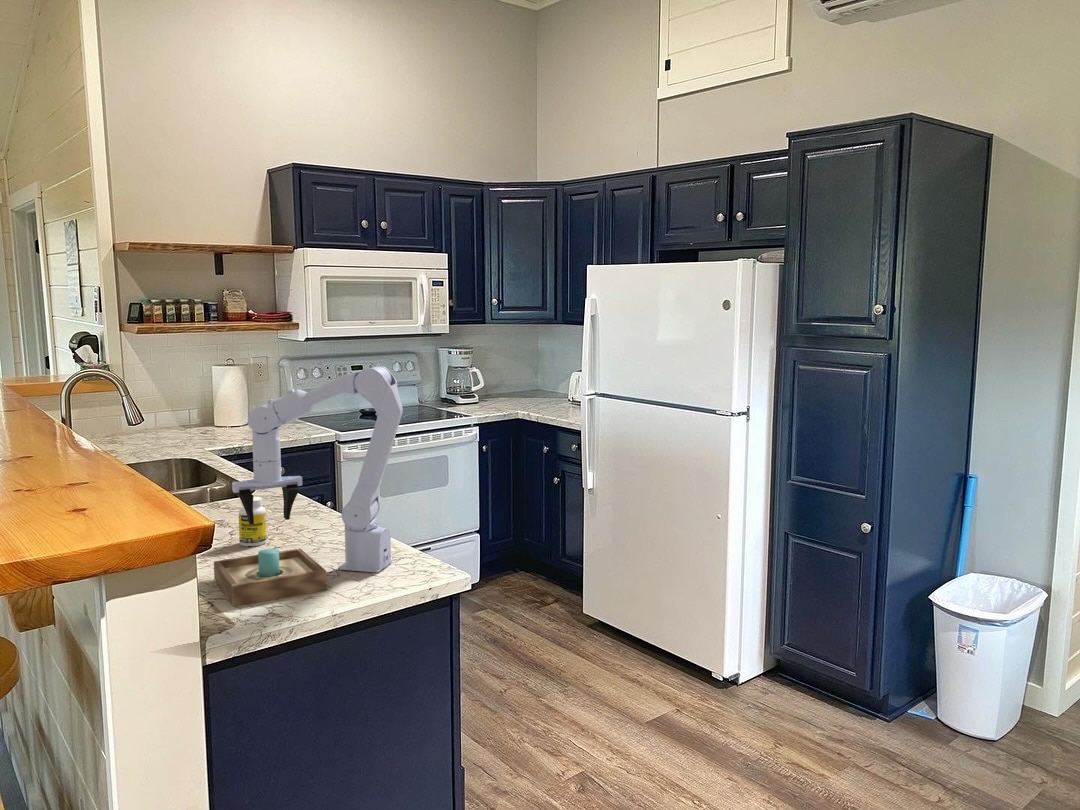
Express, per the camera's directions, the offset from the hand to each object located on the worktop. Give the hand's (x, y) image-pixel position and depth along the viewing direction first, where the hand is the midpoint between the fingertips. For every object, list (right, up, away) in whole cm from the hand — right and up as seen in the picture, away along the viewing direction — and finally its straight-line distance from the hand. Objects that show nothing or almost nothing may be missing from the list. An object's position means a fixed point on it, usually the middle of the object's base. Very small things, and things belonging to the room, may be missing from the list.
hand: (269, 521), depth 180 cm
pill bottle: (-10, -8, +18) cm, 22 cm away
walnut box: (+4, -11, -12) cm, 17 cm away
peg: (+4, -11, -12) cm, 17 cm away
